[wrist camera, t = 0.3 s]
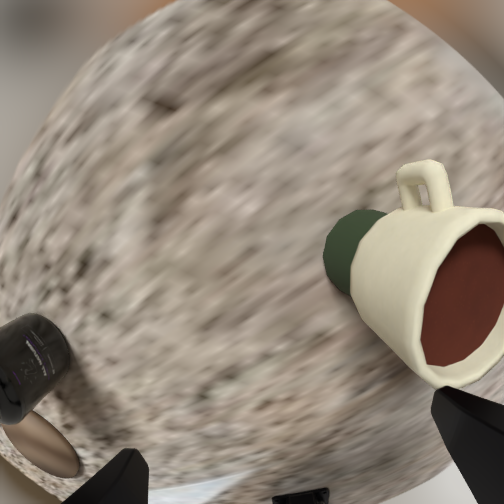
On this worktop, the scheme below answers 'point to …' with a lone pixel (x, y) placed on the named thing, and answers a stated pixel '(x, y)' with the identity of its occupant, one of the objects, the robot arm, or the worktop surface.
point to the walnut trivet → (43, 446)
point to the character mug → (426, 278)
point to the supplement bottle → (29, 364)
